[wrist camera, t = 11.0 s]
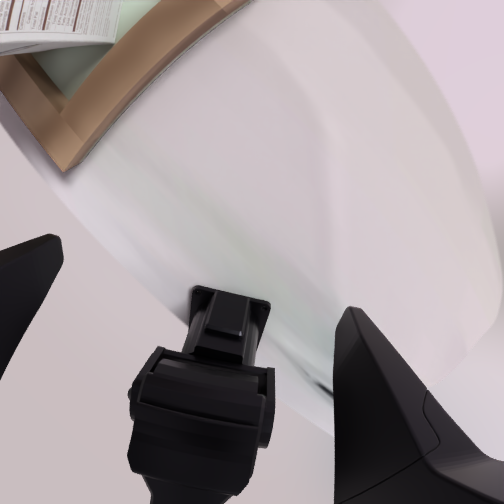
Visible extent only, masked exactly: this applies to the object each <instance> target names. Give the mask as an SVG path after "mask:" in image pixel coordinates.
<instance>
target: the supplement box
mask: <svg viewBox="0 0 504 504" xmlns="http://www.w3.org/2000/svg"><path fill="white" fill-rule="evenodd" d="M122 4H123V0H0V56H4V55H12V54H22V53H33V52H42V51H47V50H51V49H58V48H67V47H76V46H87V45H113V44H114V43H115V39H116V34H117V29H118V24H119V19H120V14H121V9H122Z"/></svg>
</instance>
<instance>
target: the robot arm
mask: <svg viewBox="0 0 504 504" xmlns="http://www.w3.org/2000/svg"><path fill="white" fill-rule="evenodd" d="M63 260H64V256H63V250H62V244H61V239H60V237H59V236H57V235H53V234H46V235H43V236H40V237H37V238H34V239H32V240H29V241H26V242H23V243H20V244H18V245H15V246H12V247H9V248H7V249H4V250H1V251H0V380H1V378H2V375H3V373H4V371H5V369H6V367H7V365H8V363H9V361H10V359H11V357H12V356H13V354H14V352H15V350H16V348H17V346H18V344H19V342H20V341H21V339H22V337H23V335H24V333H25V332H26V330H27V328H28V326H29V325H30V323H31V321H32V319H33V318H34V316H35V314H36V312H37V311H38V309H39V308H40V306H41V304H42V303H43V301H44V299H45V297H46V295H47V293H48V291H49V289H50V287H51V285H52V283H53V282H54V280H55V278H56V276H57V274H58V272H59V270H60V268H61V266H62V264H63ZM197 291H200V292H201V293H199V292H197ZM263 306H266V308H264V307H263ZM270 309H271V304H270V303H269V302H268V301H264V300H259V299H255V298H251V297H246V296H242V295H237V294H233V293H229V292H225V291H220V290H216V289H212V288H208V287H204V286H195V287H194V289H193V292H192V301H191V310H190V320H189V330H188V335H187V338H186V341H185V343H184V346H183V349H182V352H176V351H172V350H167V349H165V348H164V347H160V346H158V347H157V348H156V350H155V351H154V353H152V354H151V356H150V357H149V359H148V360H147V362H146V363H145V365H144V367H143V368H142V369H141V371H140V372H139V374H138V375H137V377H136V378H135V380H134V381H133V383H132V387H131V388H130V389H129V391H128V398H129V400H130V417H131V419H132V420H133V421H134V425H133V431H132V436H131V440H130V444H129V449H128V453H127V457H128V461H129V464H130V468H131V470H132V472H134V473H137V474H141V475H142V477H143V479H144V481H145V482H146V485H147V487H148V489H149V491H150V493H151V500H150V504H224V503H225V502H226V501H227V500H228V499H229V498H231V497H232V496H233V495H234V496H237V495H239V494H240V493H241V492H242V490H243V489H244V488H245V487H246V485H248V483H249V479H250V478H251V477H252V474H253V469H254V465H255V460H256V455H257V450H258V448H267V447H268V444H269V441H270V437H271V433H272V428H273V422H274V414H275V368H270V367H267V368H262V367H255V366H254V364H255V356H256V351H257V348H258V345H259V342H260V339H261V336H262V333H263V330H264V327H265V325H266V322H267V319H268V316H269V313H270ZM333 396H334V433H335V484H334V504H504V461H499V460H496V459H493V458H490V457H489V456H487V455H486V454H484V453H483V452H482V451H481V450H480V449H479V448H478V447H477V446H476V445H475V444H474V443H473V442H472V441H471V439H470V438H469V437H468V436H467V435H466V434H465V433H464V432H463V430H462V429H461V428H460V427H459V426H458V425H457V424H456V423H455V422H454V420H453V419H452V418H451V417H450V416H449V415H448V414H447V412H446V411H445V410H444V409H443V408H442V406H441V405H440V404H439V403H438V402H437V400H436V399H435V398H434V396H433V395H432V394H431V393H430V391H429V390H427V388H426V386H425V385H424V384H423V383H422V381H421V380H420V379H419V378H418V376H417V375H416V374H415V373H414V371H413V370H412V369H411V368H410V366H409V365H408V364H407V363H406V361H405V360H404V359H403V358H402V356H401V355H400V354H399V353H398V352H397V350H396V349H395V348H394V347H393V346H392V344H391V343H390V342H389V341H388V339H387V338H386V337H385V336H384V335H383V333H382V332H381V331H380V330H379V329H378V328H377V326H376V325H375V324H374V323H373V322H372V320H371V319H370V318H369V317H368V316H367V315H366V313H365V312H364V311H363V310H362V309H361V308H357V307H352V306H349V307H347V308H346V310H345V311H344V313H343V315H342V317H341V319H340V321H339V323H338V325H337V327H336V331H335V348H334V365H333Z"/></svg>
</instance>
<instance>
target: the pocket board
mask: <svg viewBox="0 0 504 504" xmlns="http://www.w3.org/2000/svg"><path fill="white" fill-rule="evenodd" d="M252 1H253V0H123V4H122V9H121V14H120V19H119V24H118V29H117V34H116V39H115V43H114V44H113V45H87V46H76V47H67V48H58V49H51V50H47V51H42V52H33V53H22V54H12V55H4V56H0V90H1V92H2V93H3V95H4V96H5V97H6V99H7V100H8V102H9V103H10V104H11V106H12V107H13V109H14V110H15V111H16V113H17V114H18V116H19V117H20V118H21V120H22V121H23V122H24V124H25V125H26V126H27V128H28V129H29V130H30V132H31V133H32V134H33V135H34V137H35V138H36V139H37V141H38V142H39V143H40V144H41V146H42V147H43V148H44V150H45V151H46V152H47V153H48V155H49V156H50V157H51V158H52V160H53V161H54V162H55V163H56V164H57V166H58V167H59V168H60V169H61V171H62V172H65V171H67V170H69V169H70V168H72V167H74V166H76V165H77V164H79V163H81V162H82V161H83V160H84V159H85V157H86V156H87V155H88V154H89V152H90V151H91V150H92V149H93V147H94V146H95V145H96V144H97V142H98V141H99V140H100V139H101V138H102V136H103V135H104V134H105V133H106V132H107V130H108V129H109V128H110V127H111V126H112V125H113V124H114V122H115V121H116V120H117V119H118V118H119V117H120V116H121V115H122V113H123V112H124V111H125V110H126V109H127V108H128V107H129V106H130V105H131V104H132V103H133V102H134V101H135V100H136V98H137V97H138V96H139V95H140V94H141V93H142V92H143V91H144V90H145V89H146V88H147V87H148V86H149V85H150V84H151V83H152V82H153V81H154V80H155V79H156V78H158V77H159V76H160V75H161V74H162V73H163V72H164V71H165V70H166V69H167V68H168V67H169V66H170V65H171V64H173V63H174V62H175V61H176V60H177V59H178V58H179V57H180V56H181V55H183V54H184V53H185V52H186V51H187V50H188V49H190V48H191V47H192V46H193V45H194V44H196V43H197V42H198V41H199V40H200V39H202V38H203V37H204V36H205V35H207V34H208V33H209V32H210V31H212V30H213V29H214V28H216V27H217V26H218V25H219V24H221V23H222V22H223V21H225V20H226V19H227V18H229V17H230V16H232V15H233V14H234V13H236V12H237V11H239V10H240V9H241V8H243V7H244V6H246V5H247V4H249V3H250V2H252Z"/></svg>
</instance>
